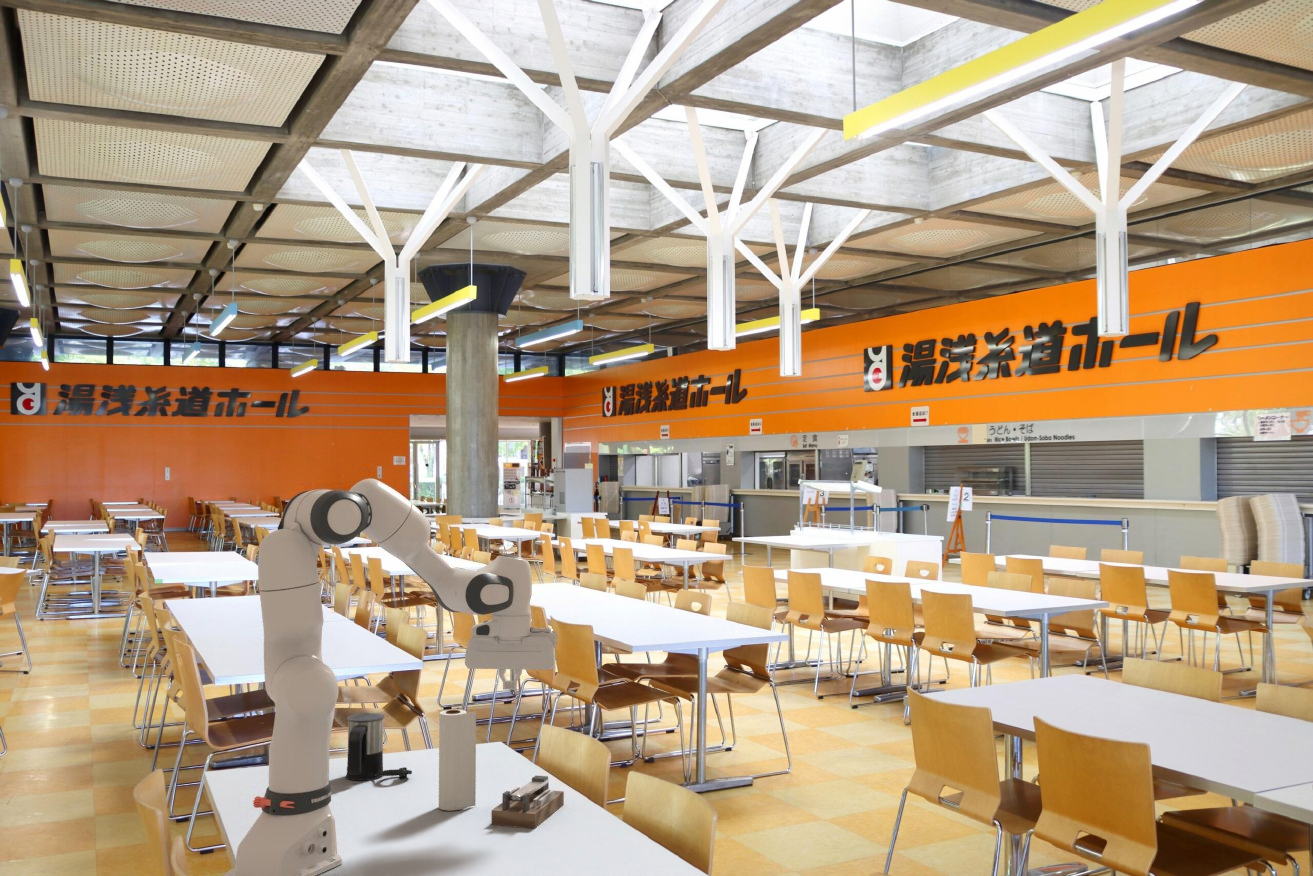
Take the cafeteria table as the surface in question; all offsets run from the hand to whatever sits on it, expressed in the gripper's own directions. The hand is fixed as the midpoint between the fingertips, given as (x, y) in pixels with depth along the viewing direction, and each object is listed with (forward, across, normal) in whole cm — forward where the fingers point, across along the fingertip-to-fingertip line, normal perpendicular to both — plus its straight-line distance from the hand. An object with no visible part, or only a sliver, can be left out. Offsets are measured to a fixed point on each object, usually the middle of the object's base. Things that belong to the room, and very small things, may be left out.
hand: (509, 689), depth 229 cm
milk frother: (+27, +36, -26) cm, 52 cm away
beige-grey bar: (+22, -5, +3) cm, 23 cm away
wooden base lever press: (+26, -5, +3) cm, 27 cm away
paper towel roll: (+27, +12, -2) cm, 30 cm away
